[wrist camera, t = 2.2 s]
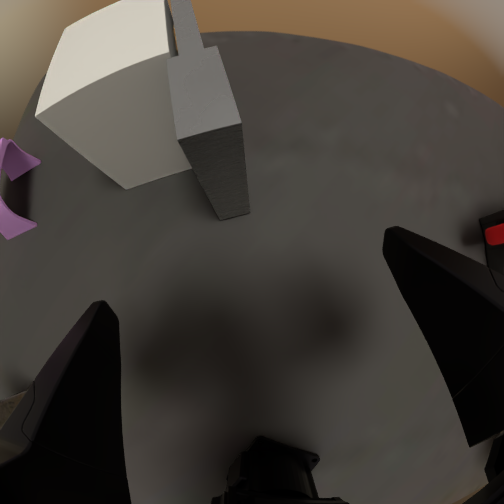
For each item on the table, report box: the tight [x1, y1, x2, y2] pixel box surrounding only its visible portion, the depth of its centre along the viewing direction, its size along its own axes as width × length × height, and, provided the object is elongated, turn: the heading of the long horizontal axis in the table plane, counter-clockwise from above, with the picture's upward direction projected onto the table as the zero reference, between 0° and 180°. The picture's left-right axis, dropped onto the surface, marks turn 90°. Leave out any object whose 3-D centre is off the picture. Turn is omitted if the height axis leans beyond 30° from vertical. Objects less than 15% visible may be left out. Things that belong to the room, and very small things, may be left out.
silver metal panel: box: [166, 0, 250, 220], centre depth 16 cm, size 15×2×12 cm, turn 14°
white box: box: [35, 0, 192, 190], centre depth 17 cm, size 11×8×13 cm
